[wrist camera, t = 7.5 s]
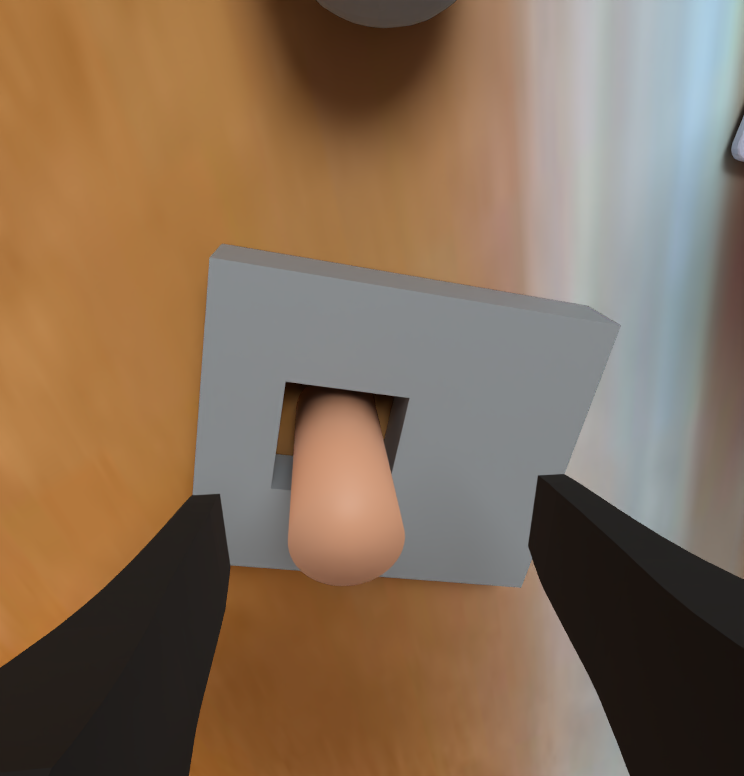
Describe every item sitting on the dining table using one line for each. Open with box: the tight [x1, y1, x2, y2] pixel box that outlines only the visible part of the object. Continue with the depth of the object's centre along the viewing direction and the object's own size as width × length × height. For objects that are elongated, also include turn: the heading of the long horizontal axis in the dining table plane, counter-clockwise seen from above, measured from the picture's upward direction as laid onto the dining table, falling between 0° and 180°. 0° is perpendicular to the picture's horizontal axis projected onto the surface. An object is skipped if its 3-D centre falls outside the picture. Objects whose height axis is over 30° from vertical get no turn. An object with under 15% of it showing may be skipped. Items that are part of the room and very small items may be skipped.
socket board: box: [193, 244, 621, 588], centre depth 21 cm, size 14×12×2 cm
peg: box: [288, 385, 405, 586], centre depth 19 cm, size 3×3×8 cm
